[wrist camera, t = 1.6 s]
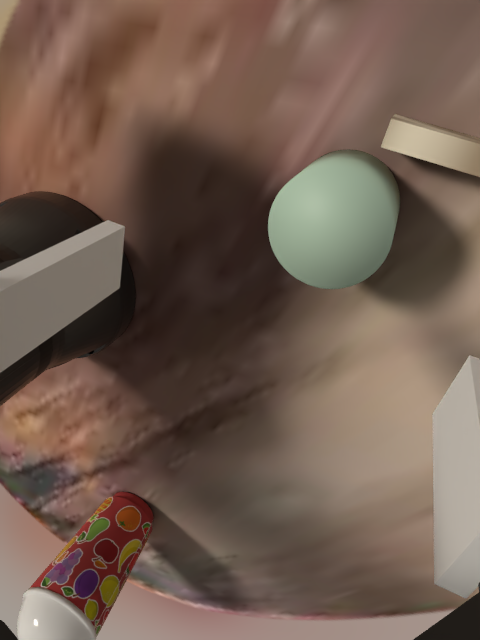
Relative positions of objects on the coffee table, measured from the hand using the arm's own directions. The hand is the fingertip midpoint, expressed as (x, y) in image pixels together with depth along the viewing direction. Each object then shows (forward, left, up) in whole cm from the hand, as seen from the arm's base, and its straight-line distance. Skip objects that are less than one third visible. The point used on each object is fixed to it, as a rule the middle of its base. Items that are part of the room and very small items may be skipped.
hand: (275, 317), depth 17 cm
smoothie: (-12, -43, -17) cm, 48 cm away
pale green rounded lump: (0, 0, -17) cm, 17 cm away
